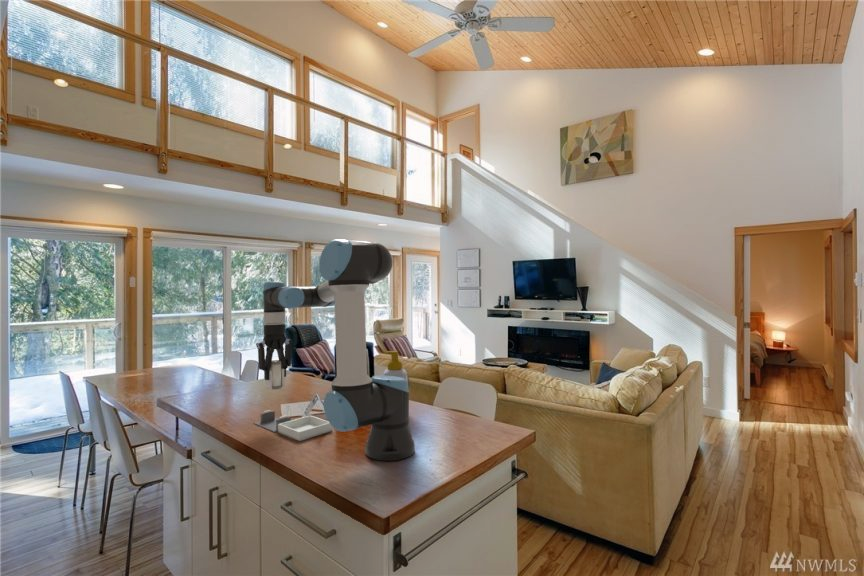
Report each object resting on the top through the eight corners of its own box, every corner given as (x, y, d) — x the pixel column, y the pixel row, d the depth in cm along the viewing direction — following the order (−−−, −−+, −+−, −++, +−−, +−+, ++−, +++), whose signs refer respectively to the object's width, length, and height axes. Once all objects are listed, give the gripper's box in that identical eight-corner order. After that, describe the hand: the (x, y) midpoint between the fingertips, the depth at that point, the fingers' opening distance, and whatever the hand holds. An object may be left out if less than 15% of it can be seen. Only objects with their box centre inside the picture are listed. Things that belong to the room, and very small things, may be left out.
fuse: (283, 387, 158) (283, 360, 158) (273, 390, 155) (272, 362, 155) (277, 386, 160) (277, 359, 161) (267, 388, 157) (266, 361, 157)
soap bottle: (384, 411, 174) (384, 349, 174) (406, 411, 174) (406, 349, 174) (382, 418, 165) (382, 353, 165) (406, 418, 166) (405, 353, 165)
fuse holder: (297, 426, 156) (297, 414, 156) (274, 433, 150) (274, 420, 150) (276, 418, 166) (275, 407, 166) (253, 424, 159) (253, 412, 159)
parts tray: (332, 430, 151) (332, 422, 151) (299, 441, 141) (299, 432, 141) (310, 423, 160) (310, 415, 160) (277, 432, 150) (277, 424, 150)
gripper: (290, 321, 167) (290, 382, 167) (246, 325, 154) (247, 390, 153) (300, 322, 162) (301, 384, 162) (257, 325, 149) (258, 393, 149)
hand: (275, 387), depth 158 cm, fingers closed on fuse, 4 cm apart
